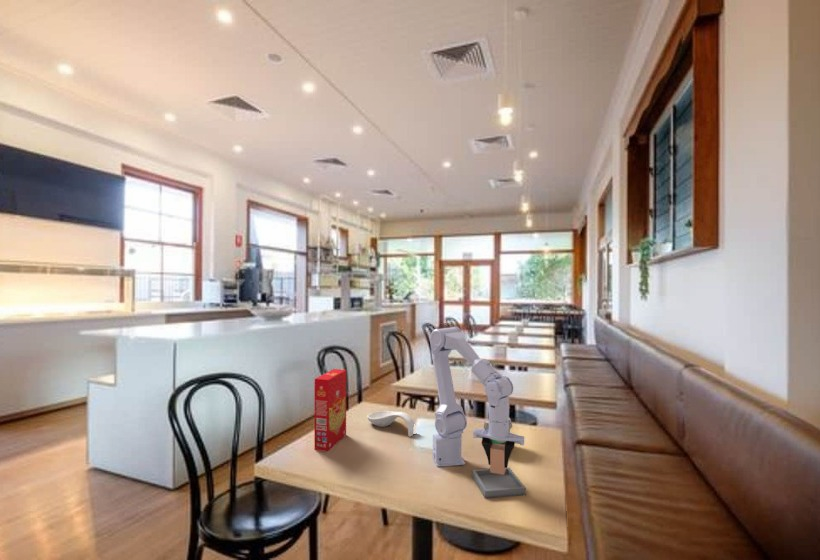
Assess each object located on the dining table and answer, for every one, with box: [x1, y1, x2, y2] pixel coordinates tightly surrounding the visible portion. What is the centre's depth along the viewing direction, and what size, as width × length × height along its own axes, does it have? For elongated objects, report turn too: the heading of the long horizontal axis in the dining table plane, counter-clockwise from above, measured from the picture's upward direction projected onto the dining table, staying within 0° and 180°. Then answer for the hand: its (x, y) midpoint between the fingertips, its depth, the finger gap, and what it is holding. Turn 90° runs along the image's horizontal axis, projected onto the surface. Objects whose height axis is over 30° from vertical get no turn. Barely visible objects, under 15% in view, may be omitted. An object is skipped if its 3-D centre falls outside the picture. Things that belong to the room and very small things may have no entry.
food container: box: [483, 417, 513, 445], centre depth 143 cm, size 12×6×10 cm, turn 129°
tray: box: [471, 466, 527, 499], centre depth 119 cm, size 12×12×2 cm
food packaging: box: [314, 368, 347, 452], centre depth 148 cm, size 15×5×25 cm, turn 164°
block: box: [489, 443, 506, 475], centre depth 119 cm, size 4×4×7 cm
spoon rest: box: [366, 410, 416, 438], centre depth 162 cm, size 24×12×7 cm, turn 48°
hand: (498, 464), depth 119 cm, fingers closed on block, 4 cm apart
